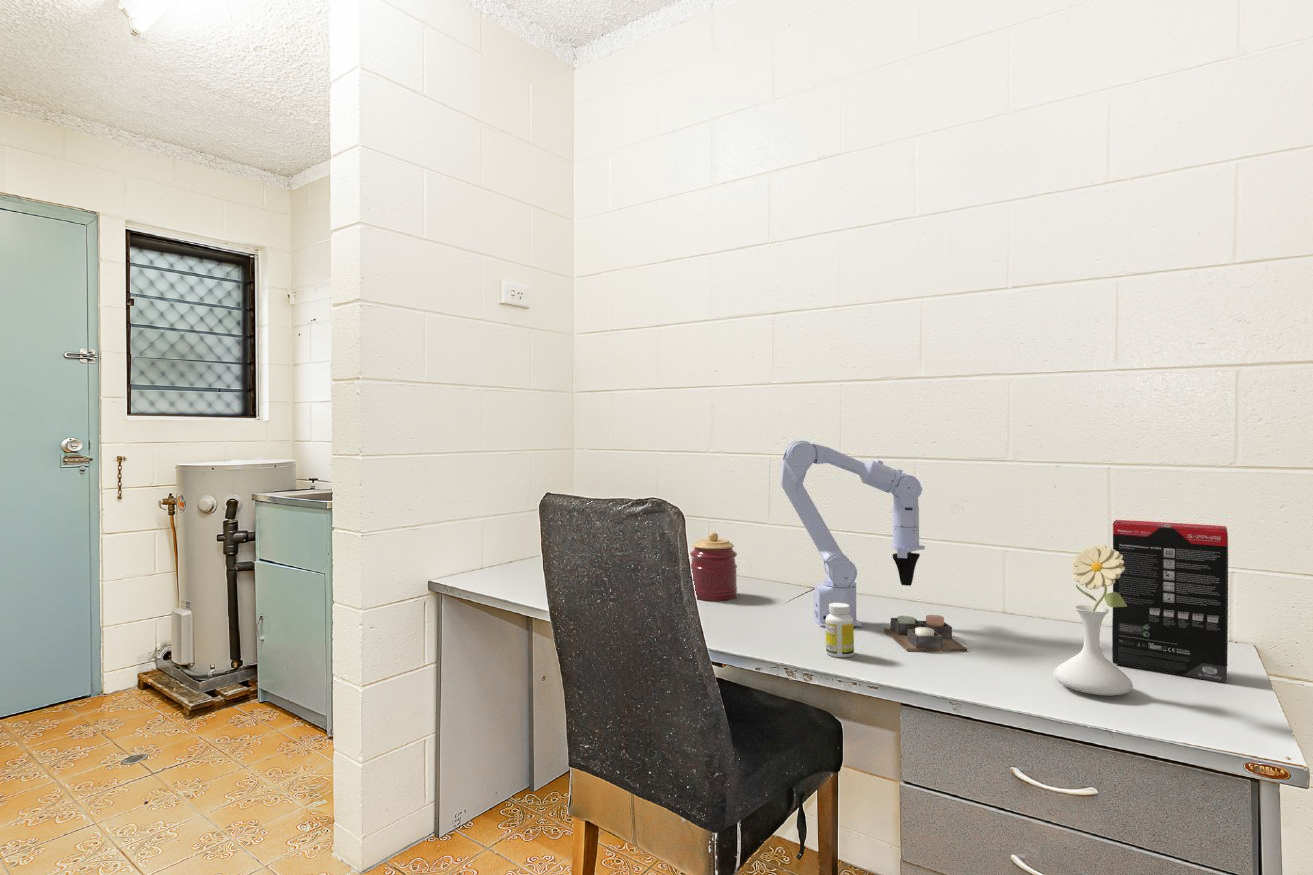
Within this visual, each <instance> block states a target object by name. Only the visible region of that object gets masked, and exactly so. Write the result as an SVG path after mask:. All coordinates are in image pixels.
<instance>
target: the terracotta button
mask: <svg viewBox="0 0 1313 875" xmlns="http://www.w3.org/2000/svg"><path fill="white" fill-rule="evenodd" d="M925 621H926V625H927V626H928V627H944V622H945V617H944V616H942V615H938V614H927V615H925Z"/></svg>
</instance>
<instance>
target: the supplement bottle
mask: <svg viewBox="0 0 1313 875" xmlns="http://www.w3.org/2000/svg"><path fill="white" fill-rule="evenodd" d="M849 611H850V606H849V605H848V604H845V603H831V604H829V612H830V614H829V615H827V617H826V626H825V652H826V654H827V655H828V656H831V657H834V658H841V659H842V658H844V659H845V658H851V657H852V656H854V654H855V649H854V648H855V642H854V641H855V637H854V636H855V635H854V631H855V629H854V627H855V626H853V618H852V617H851V616H850V615H848V613H849Z"/></svg>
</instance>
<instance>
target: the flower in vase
mask: <svg viewBox="0 0 1313 875" xmlns="http://www.w3.org/2000/svg"><path fill="white" fill-rule="evenodd" d="M1075 557H1076V559H1074V560H1073V561H1072V565H1071V569H1072V574H1074V575H1073V577H1072V578H1073V580H1074V581H1075V582H1076V583H1079V585H1080V586H1085V588H1086V589H1088V590H1098V589H1099V588H1100V587H1102V588H1104V590H1103V594H1102V596H1101V597H1100V598H1099V600H1097V599H1096V598H1095V597H1094V596H1093V595H1091V594H1090V593H1088V592H1087V591H1084V590H1083V589H1082V588H1080V587H1079V586H1078V584H1075V585H1076V589H1077V590H1078V591H1079V592H1080V593H1081V594H1083V595H1085V596H1087V597H1088V598H1090V599H1092V600H1093V601H1095V602H1096V603H1095V605H1092V604H1090V605H1089V604H1076V605H1074V606H1073V608H1074V609H1075V610H1076V612H1077V613H1078V615H1079V617H1080V620H1081V623H1082V629H1083V646H1082V649H1081V650H1080V652H1079V653H1077V654H1076V655H1074V656H1072V657H1071V658H1069V659H1067V660H1066V661H1064V662H1062V663H1061V664H1059V665H1058V666H1057V667H1056V668H1055V669H1054V671H1053V677H1054V678H1055V680H1056V681H1057V682H1058V683H1059V684H1061V685H1063V686H1064V687H1067V688H1069V689H1072V690H1074V691H1077V692H1081V693H1085V694H1091V695H1094V696H1095V695H1097V696H1108V697H1110V696H1119V695H1125V694H1129V692H1130V691H1132V689H1133V688H1134V685H1133V683H1132V680H1131V679H1130V678H1129V676H1128V675H1126V674H1125V672H1124V671H1122V670H1121V669H1120V668H1119V667H1117V666H1116V664H1115V663H1113V662H1111V660H1109V659H1108V658H1107V657H1106V656H1105V655H1104V654H1103V652H1102V650H1101V646H1100V644H1101V642H1100V636H1101V635H1100V634H1101V626H1102V623H1103V620H1104V618H1105V616H1106V615H1107V614H1108V613H1109V611H1110V609H1108V608H1106V607H1103V606H1099V605H1100V603H1101V602H1102V601H1103V600H1104V601H1105V603H1106V605H1107V606H1108V607H1110V608H1113V607H1127V605H1126V603H1125V602H1124V600H1123V599H1122V597H1121V596H1120V594H1119V593H1117V592H1113V591H1112V592H1108V593H1107V591H1108V587H1110V586H1113V584H1114V583H1115V579H1119V578H1120V574H1122V572H1123V571H1124V570H1125V567H1124V566H1122V565H1123V564H1124V561H1123V560H1122V558H1123V555H1121V554H1119V552H1118V551H1116V550H1113V547H1111V546H1106V544H1102V545H1099V546H1097V545H1095V544H1094V545H1091V546H1090V548H1083V549H1082V552H1080V553H1077V554H1076V556H1075Z"/></svg>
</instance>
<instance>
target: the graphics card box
mask: <svg viewBox="0 0 1313 875" xmlns="http://www.w3.org/2000/svg"><path fill="white" fill-rule="evenodd" d="M1228 532H1229V531H1228V527H1227V526H1226V525H1215V524H1199V523H1198V524H1197V523H1184V522H1181V523H1179V522H1168V521H1167V522H1166V521H1163V522H1161V521H1147V520H1145V521H1144V520H1127V519H1126V520H1124V519H1115V520H1113V523H1112V550H1116V551H1118V552H1119V554H1121V555H1123V558H1122V560H1123V561H1124V564H1123V565H1122V566H1124V567H1125V570H1124V571H1123V572H1122V574H1120V578H1119V579H1115V583H1114V584H1112V592H1117V593H1119V594H1120V596H1121V597H1122V599H1123V600H1124V602H1125V603H1126V605H1127V607H1112V620H1111V621H1112V623H1111V624H1112V626H1111V627H1112V629H1111V636H1112V637H1111V638H1112V640H1111V644H1112V648H1111V651H1112V652H1111V654H1112V657H1111V658H1112V659H1111V660H1112V664H1114V665H1121V666H1128V667H1133V668H1139V669H1143V670H1151V671H1155V672H1163V673H1167V674H1173V675H1178V676H1185V677H1189V678H1195V679H1200V680H1207V681H1211V682H1212V681H1213V682H1218V683H1227V680H1228V677H1227V676H1228V653H1229V652H1228V651H1229V650H1228V645H1229V644H1228V635H1229V634H1228V633H1229V631H1228V630H1229V629H1228V628H1229V534H1228Z"/></svg>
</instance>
